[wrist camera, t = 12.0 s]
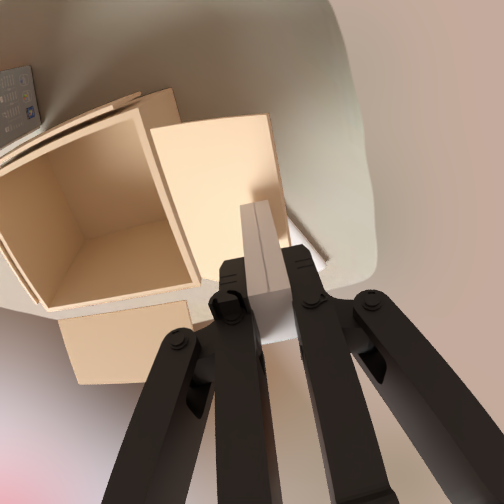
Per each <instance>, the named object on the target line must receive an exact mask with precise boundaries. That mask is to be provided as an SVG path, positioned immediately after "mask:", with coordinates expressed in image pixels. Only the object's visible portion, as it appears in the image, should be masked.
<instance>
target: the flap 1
mask: <svg viewBox="0 0 504 504" xmlns="http://www.w3.org/2000/svg"><path fill="white" fill-rule="evenodd" d="M58 323H59V326H60V330H61V333H62V336H63V340H64V343H65V346H66V349H67V352H68V355H69V358H70V361H71V364H72V367H73V369H74V372H75V375H76V378H77V380H78V383H79V384H118V383H137V382H146V380H147V377H148V375H149V372H150V370H151V367H152V365H153V362H154V360H155V357H156V355H157V353H158V350H159V348H160V345H161V343H162V341H163V339H164V337H165V336H166V335H167V334H168V333H169V332H170V331H172V330H174V329H177V328H183V327H185V328H189V329H191V330H193V331H194V329H193V325H192V321H191V317H190V313H189V309H188V305H187V301H186V300H182V301H177V302H171V303H165V304H159V305H153V306H147V307H141V308H135V309H128V310H122V311H116V312H109V313H103V314H96V315H89V316H82V317H75V318H68V319H61V320H58Z"/></svg>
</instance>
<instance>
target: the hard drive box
mask: <svg viewBox="0 0 504 504" xmlns="http://www.w3.org/2000/svg"><path fill="white" fill-rule="evenodd" d="M40 125H41V121H40V116H39V112H38V107H37V102H36V96H35V91H34V85H33V78H32V71H31V66H30V65H29V66H23V67H18V68H13V69H8V70H4V71H0V150H2V149H3V148H5V147H7V146H9V145H10V144H12V143H14V142H15V141H17V140H19V139H21V138H23V137H25V136H26V135H28V134H30V133H32V132H34V131H35V130H37V129H39V128H40Z"/></svg>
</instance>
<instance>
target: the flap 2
mask: <svg viewBox="0 0 504 504" xmlns="http://www.w3.org/2000/svg"><path fill="white" fill-rule="evenodd" d="M150 131H151V135H152V138H153V141H154V144H155V147H156V150H157V153H158V156H159V160H160V163H161V166H162V169H163V172H164V175H165V178H166V181H167V184H168V186H169V189H170V192H171V195H172V198H173V201H174V204H175V207H176V210H177V212H178V215H179V218H180V221H181V224H182V226H183V229H184V232H185V235H186V237H187V240H188V243H189V246H190V248H191V251H192V254H193V256H194V259H195V262H196V264H197V267H198V269H199V272H200V275H201V277H202V278H205V279H209V280H214V281H218V282H219V269H220V267H221V265H222V263H223V261H225V260H230V259H234V258H239V257H244V250H243V239H242V228H241V217H240V205H243V204H248V203H253V202H258V201H263V200H268V202H269V206H270V210H271V213H272V217H273V221H274V225H275V228H276V232H277V236H278V240H279V244H280V248H285V247H290V246H292V245H291V238H290V231H289V225H288V219H287V212H286V206H285V200H284V194H283V188H282V182H281V176H280V170H279V165H278V159H277V153H276V148H275V142H274V137H273V131H272V126H271V121H270V115H269V113H263V114H250V115H239V116H229V117H220V118H212V119H204V120H196V121H189V122H183V123H176V124H170V125H164V126H158V127H153V128H151V129H150Z"/></svg>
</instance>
